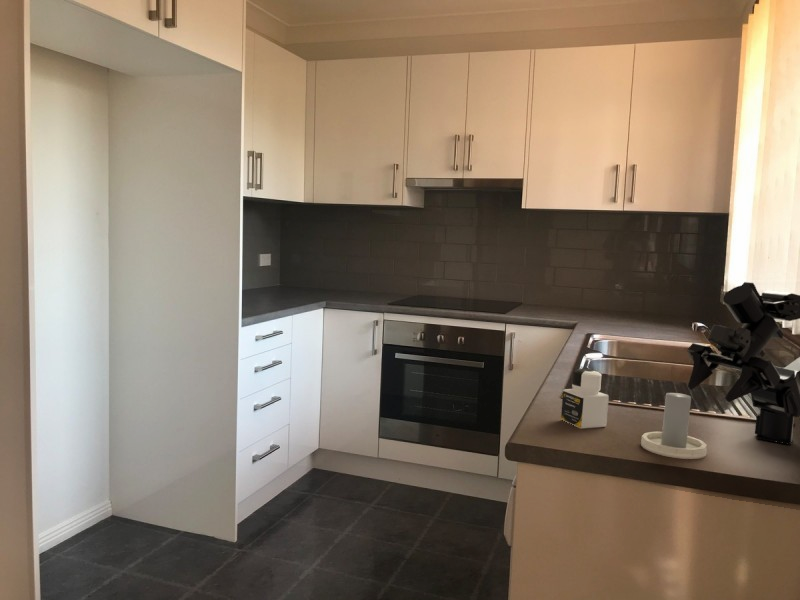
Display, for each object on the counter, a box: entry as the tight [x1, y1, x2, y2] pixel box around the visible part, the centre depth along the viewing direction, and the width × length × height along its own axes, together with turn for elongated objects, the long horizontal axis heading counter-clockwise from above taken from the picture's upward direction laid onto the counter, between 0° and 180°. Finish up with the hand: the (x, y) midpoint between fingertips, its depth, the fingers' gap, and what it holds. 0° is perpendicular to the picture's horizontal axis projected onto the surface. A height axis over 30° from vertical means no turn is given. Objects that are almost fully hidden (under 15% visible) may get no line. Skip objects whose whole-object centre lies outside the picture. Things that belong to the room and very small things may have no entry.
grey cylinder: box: [661, 392, 692, 448], centre depth 132 cm, size 5×5×10 cm
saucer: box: [640, 431, 708, 460], centre depth 133 cm, size 12×12×2 cm
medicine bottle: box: [560, 368, 609, 429], centre depth 148 cm, size 7×7×12 cm
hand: (707, 394), depth 136 cm, fingers open, 9 cm apart
